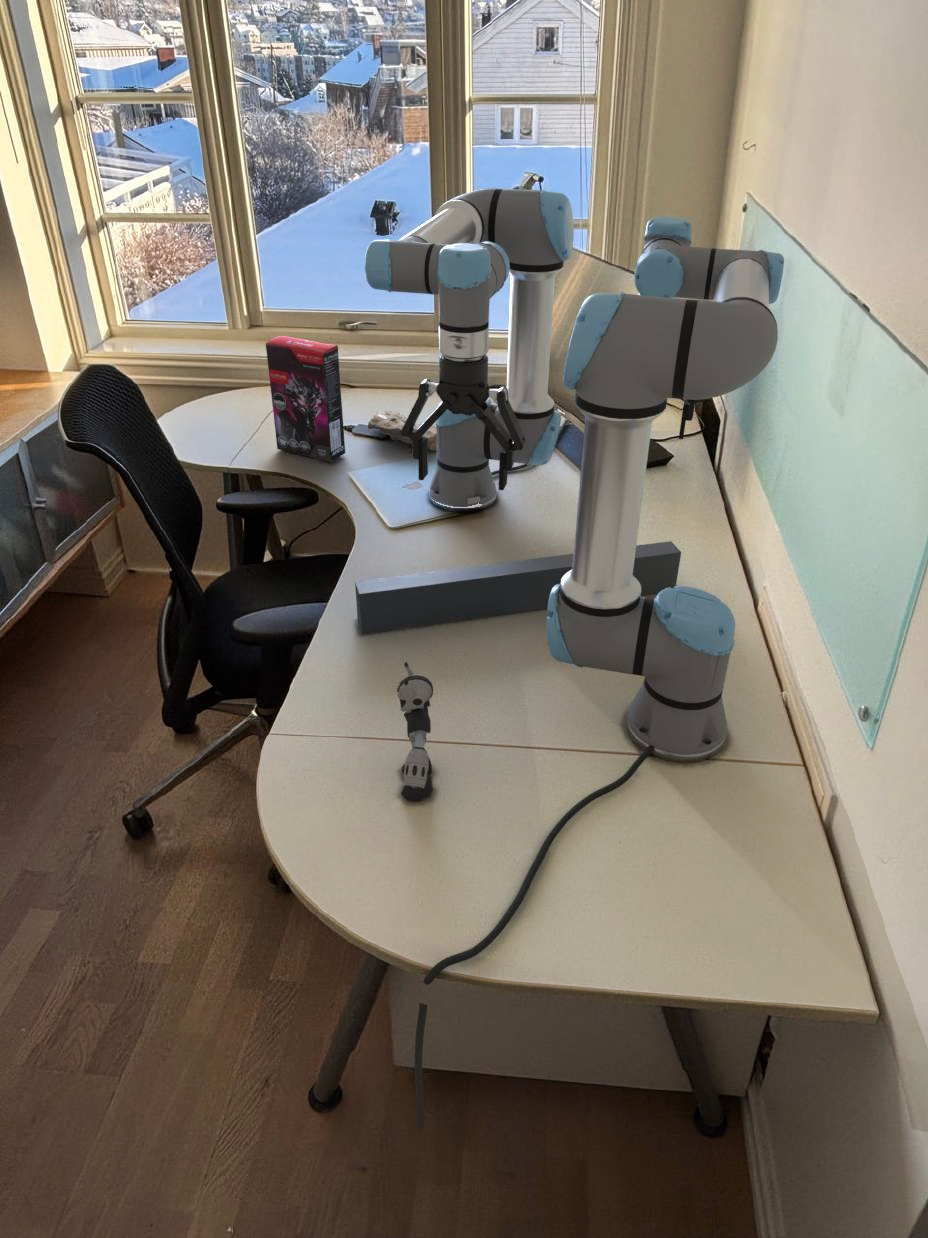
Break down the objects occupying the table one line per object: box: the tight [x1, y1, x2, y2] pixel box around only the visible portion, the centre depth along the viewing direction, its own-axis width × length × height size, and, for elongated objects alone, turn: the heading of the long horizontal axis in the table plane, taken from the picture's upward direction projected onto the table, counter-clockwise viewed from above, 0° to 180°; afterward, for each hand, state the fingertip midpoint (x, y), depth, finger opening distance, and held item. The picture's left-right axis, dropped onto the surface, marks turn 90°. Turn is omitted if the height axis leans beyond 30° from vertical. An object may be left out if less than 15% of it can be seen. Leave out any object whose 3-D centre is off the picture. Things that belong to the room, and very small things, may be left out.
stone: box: [367, 410, 437, 452], centre depth 235 cm, size 21×15×6 cm
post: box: [354, 540, 682, 635], centre depth 170 cm, size 61×4×8 cm, turn 105°
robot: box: [396, 661, 434, 803], centre depth 128 cm, size 20×5×20 cm, turn 3°
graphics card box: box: [265, 335, 346, 462], centre depth 222 cm, size 17×7×27 cm, turn 62°
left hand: (462, 481), depth 152 cm, fingers open, 13 cm apart
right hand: (643, 432), depth 170 cm, fingers open, 13 cm apart
